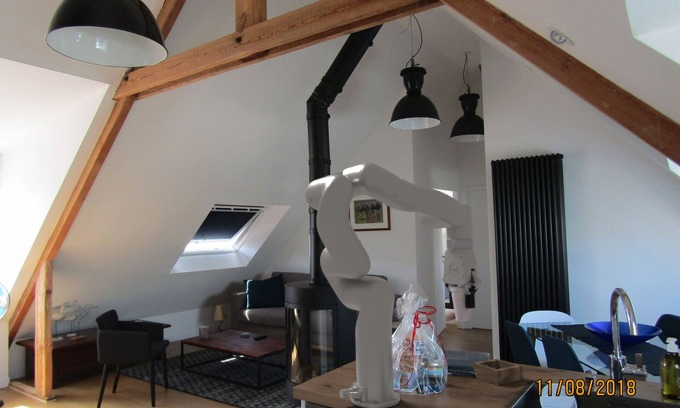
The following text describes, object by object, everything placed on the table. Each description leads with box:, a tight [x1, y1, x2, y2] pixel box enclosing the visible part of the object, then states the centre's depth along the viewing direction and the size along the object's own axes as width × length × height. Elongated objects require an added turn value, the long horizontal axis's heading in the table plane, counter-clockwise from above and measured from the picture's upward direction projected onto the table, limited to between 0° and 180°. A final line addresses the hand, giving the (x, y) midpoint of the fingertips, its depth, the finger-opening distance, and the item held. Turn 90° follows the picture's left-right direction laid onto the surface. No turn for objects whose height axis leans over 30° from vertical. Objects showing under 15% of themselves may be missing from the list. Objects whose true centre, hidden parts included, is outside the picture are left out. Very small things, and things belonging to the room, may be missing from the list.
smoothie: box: [450, 285, 471, 322], centre depth 138 cm, size 6×6×14 cm
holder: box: [471, 358, 524, 386], centre depth 138 cm, size 10×10×4 cm
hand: (462, 306), depth 138 cm, fingers closed on smoothie, 6 cm apart
